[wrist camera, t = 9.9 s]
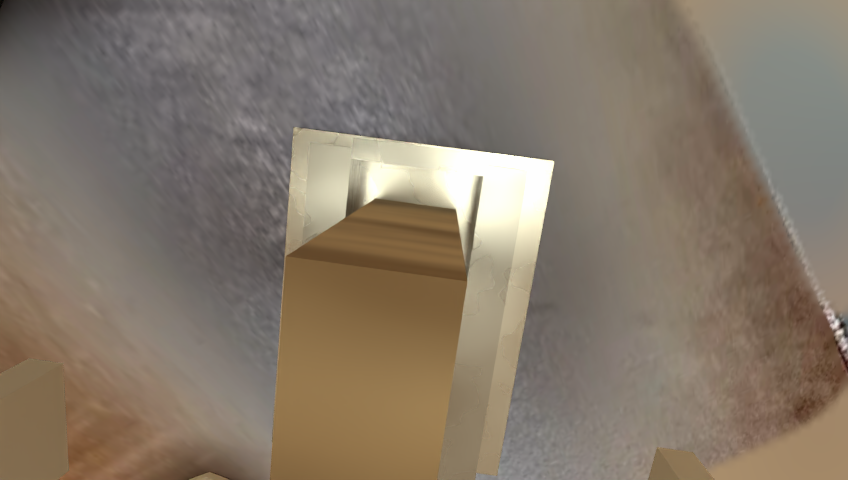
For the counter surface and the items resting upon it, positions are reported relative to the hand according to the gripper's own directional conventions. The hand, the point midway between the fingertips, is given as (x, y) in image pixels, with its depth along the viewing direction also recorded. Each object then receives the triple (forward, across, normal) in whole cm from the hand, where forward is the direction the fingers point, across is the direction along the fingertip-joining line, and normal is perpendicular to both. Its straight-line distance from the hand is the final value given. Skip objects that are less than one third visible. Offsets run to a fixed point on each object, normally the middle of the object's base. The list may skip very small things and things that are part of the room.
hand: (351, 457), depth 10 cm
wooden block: (+10, 0, -1) cm, 10 cm away
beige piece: (+11, 0, -1) cm, 11 cm away
